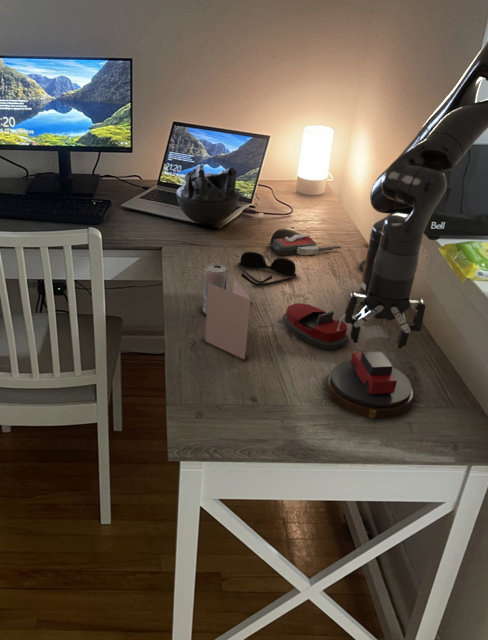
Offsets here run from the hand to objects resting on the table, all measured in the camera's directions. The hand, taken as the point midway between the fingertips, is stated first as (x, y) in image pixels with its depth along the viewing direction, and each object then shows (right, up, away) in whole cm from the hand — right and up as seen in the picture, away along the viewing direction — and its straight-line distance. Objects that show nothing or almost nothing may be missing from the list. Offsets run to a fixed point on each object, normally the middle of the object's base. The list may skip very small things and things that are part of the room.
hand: (377, 343), depth 135 cm
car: (0, -8, +5) cm, 10 cm away
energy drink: (-29, +8, +35) cm, 46 cm away
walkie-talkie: (+1, +27, +69) cm, 74 cm away
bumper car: (-5, +2, +26) cm, 27 cm away
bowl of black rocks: (-27, +39, +87) cm, 99 cm away
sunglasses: (-15, +17, +51) cm, 55 cm away
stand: (0, -10, +6) cm, 12 cm away
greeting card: (-28, -1, +21) cm, 35 cm away
